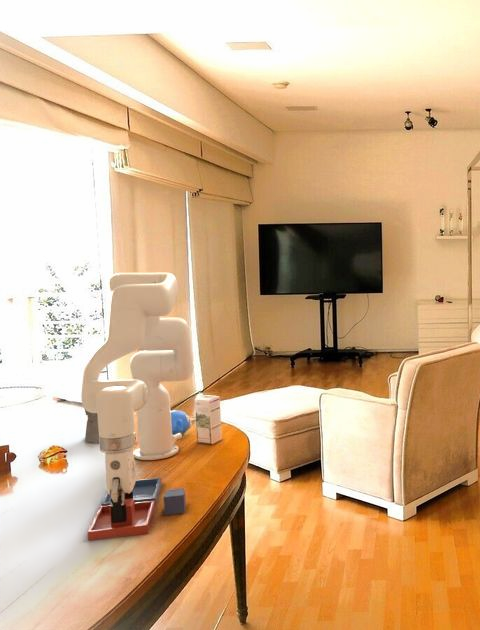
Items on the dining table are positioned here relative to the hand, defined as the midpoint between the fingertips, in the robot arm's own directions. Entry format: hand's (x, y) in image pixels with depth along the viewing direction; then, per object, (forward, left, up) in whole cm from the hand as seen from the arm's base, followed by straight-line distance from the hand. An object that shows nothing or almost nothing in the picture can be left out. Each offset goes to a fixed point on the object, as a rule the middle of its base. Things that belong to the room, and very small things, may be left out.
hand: (122, 512), depth 156 cm
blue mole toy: (-60, -31, -3) cm, 67 cm away
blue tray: (-13, -9, -3) cm, 16 cm away
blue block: (-10, +7, -3) cm, 12 cm away
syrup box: (-57, -18, -3) cm, 60 cm away
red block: (0, 0, -2) cm, 2 cm away
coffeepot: (-48, -53, -3) cm, 72 cm away
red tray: (0, 0, -3) cm, 3 cm away
